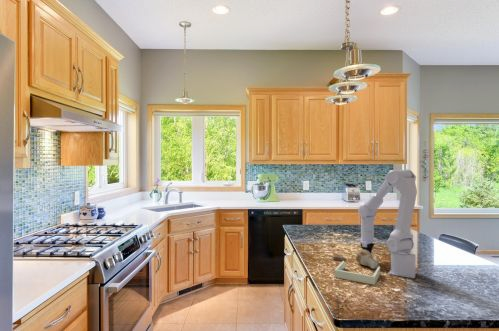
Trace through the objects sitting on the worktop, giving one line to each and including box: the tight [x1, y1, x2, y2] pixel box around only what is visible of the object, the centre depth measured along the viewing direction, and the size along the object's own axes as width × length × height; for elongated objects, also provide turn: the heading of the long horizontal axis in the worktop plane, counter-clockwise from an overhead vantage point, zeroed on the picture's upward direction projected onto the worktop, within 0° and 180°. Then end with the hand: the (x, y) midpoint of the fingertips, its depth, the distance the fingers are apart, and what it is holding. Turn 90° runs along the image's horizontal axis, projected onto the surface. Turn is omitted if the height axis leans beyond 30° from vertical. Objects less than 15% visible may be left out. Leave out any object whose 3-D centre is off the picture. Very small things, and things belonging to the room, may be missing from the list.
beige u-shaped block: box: [333, 260, 381, 286], centre depth 124 cm, size 16×13×3 cm
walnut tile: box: [332, 253, 345, 262], centre depth 145 cm, size 5×5×2 cm
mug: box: [355, 248, 381, 270], centre depth 135 cm, size 8×10×10 cm
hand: (367, 258), depth 142 cm, fingers closed
